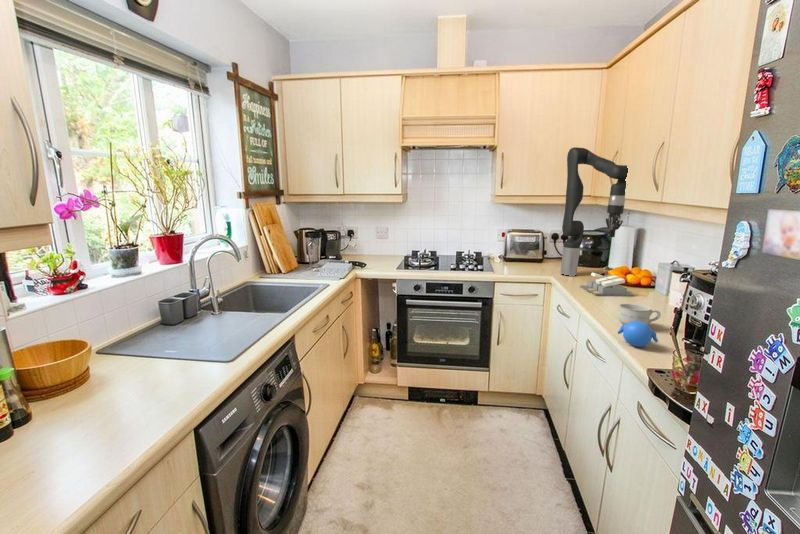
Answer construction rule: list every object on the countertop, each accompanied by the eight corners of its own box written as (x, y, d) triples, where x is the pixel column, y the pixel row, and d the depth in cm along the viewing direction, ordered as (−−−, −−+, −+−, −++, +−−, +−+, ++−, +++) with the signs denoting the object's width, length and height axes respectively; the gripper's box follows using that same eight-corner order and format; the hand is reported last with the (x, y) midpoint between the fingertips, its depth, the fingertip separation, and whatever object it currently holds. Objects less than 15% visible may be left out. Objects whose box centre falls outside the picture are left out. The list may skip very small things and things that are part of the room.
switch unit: (579, 287, 209) (580, 277, 208) (614, 287, 210) (616, 278, 209) (595, 295, 193) (597, 285, 192) (633, 296, 193) (635, 286, 192)
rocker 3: (601, 284, 197) (601, 281, 196) (620, 280, 196) (620, 277, 196) (605, 286, 193) (604, 283, 193) (625, 282, 193) (624, 279, 192)
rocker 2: (595, 282, 202) (595, 279, 202) (614, 278, 202) (614, 274, 201) (599, 284, 199) (599, 281, 198) (618, 279, 198) (618, 276, 198)
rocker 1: (590, 275, 207) (592, 272, 207) (608, 280, 208) (609, 277, 207) (594, 276, 203) (595, 273, 203) (611, 282, 204) (613, 279, 204)
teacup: (615, 326, 150) (617, 307, 148) (617, 319, 159) (620, 300, 157) (658, 335, 142) (661, 314, 141) (658, 326, 151) (661, 306, 150)
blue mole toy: (658, 343, 135) (662, 320, 133) (655, 354, 126) (659, 329, 124) (619, 334, 142) (622, 312, 140) (613, 344, 133) (617, 321, 131)
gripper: (602, 203, 211) (598, 235, 215) (616, 204, 198) (611, 238, 202) (616, 203, 211) (611, 235, 215) (630, 205, 198) (625, 238, 202)
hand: (611, 236), depth 208 cm, fingers closed
